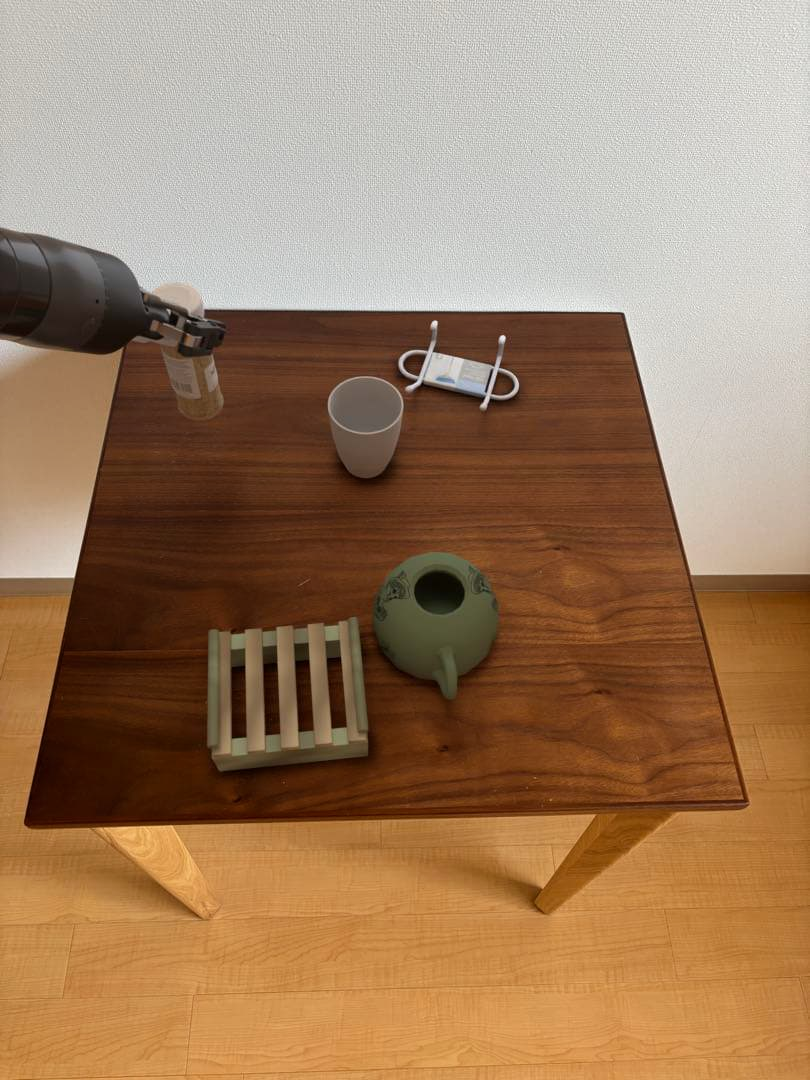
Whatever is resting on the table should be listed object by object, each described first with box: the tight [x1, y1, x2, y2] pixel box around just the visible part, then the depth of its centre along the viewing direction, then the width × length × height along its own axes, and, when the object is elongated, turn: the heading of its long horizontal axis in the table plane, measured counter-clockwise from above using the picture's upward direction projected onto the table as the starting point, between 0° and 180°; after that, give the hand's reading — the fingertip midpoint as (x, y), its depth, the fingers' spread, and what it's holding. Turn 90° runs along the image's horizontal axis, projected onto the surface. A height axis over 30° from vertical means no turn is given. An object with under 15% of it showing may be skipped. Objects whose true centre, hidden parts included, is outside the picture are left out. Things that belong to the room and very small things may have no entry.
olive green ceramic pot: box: [371, 551, 499, 701], centre depth 80 cm, size 16×13×9 cm
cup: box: [327, 375, 404, 479], centre depth 92 cm, size 8×8×10 cm
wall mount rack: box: [397, 320, 520, 412], centre depth 100 cm, size 16×14×6 cm
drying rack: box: [206, 616, 369, 772], centre depth 77 cm, size 14×12×6 cm
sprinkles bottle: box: [151, 281, 225, 422], centre depth 75 cm, size 5×5×14 cm
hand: (196, 323), depth 73 cm, fingers closed on sprinkles bottle, 4 cm apart
